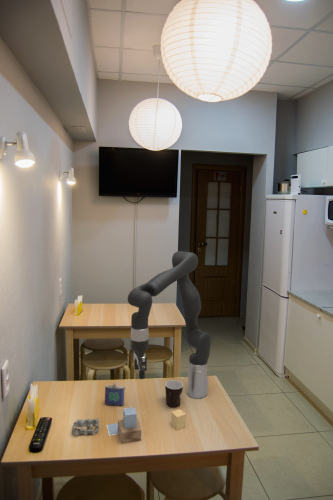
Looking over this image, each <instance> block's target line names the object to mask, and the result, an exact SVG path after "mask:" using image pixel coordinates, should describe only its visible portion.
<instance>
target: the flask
mask: <svg viewBox="0 0 333 500" xmlns="http://www.w3.org/2000/svg"><path fill="white" fill-rule="evenodd" d="M104 405H105V406H109V407H123V406H124V405H125V386H124V385H117V382H113V384H107V385H105V388H104Z"/></svg>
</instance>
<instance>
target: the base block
mask: <svg viewBox="0 0 333 500" xmlns="http://www.w3.org/2000/svg"><path fill="white" fill-rule="evenodd" d="M117 423H118V434H117V435H118V437H119V441H120V444H121V445H122V444H129V443H134V442H140V441H142V428H141V425H140V423H139V419H138V417H136V427H134V428H128V429H125V427H124V424H123V418H121V419H117Z"/></svg>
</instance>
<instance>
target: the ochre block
mask: <svg viewBox="0 0 333 500" xmlns="http://www.w3.org/2000/svg"><path fill="white" fill-rule="evenodd" d="M170 414H171V417H170V425H171V426H172V427H173V428H174V429H175V430H176V431H178V430H181V429H185V428H186V418H187V414H186V412H185V411H183V410H182V409H180V408H179V409H176V410H173V411H171V413H170Z"/></svg>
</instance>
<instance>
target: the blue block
mask: <svg viewBox="0 0 333 500" xmlns="http://www.w3.org/2000/svg"><path fill="white" fill-rule="evenodd" d="M137 415H138V413H137V411H136V409H135V407H134V406H132V407H126V408H123V409H122V419H123V424H124V427H125V429H128V428H134V427H136V417H137ZM137 418H138V417H137Z"/></svg>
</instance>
